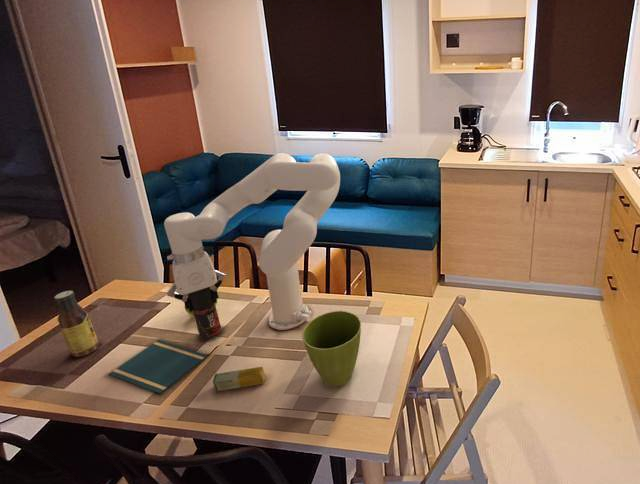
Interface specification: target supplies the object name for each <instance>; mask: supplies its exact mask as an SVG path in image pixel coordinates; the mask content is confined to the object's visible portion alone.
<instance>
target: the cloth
mask: <svg viewBox="0 0 640 484" xmlns="http://www.w3.org/2000/svg"><path fill="white" fill-rule="evenodd" d="M207 357H208V355H207V354H204V353H201V352H199V351H195V350H192V349H189V348H185V347H182V346H179V345H176V344H173V343H170V342H166V341H164V340H160V339H158V340H157V341H154V342H153V343H152V344H151V345H149V346H148V347H146V348H145V349H143V350H142V351H140V352H139V353H137V354H136V355H134V356H133V357H132V358H130V359H128V360H126V361H125V362H124V363H122V364H121V365H119V366H118V367H116V368H114V369H113V370H111V371H110V372H109V373H108V376H110V377H113V378H117V379H119V380H122V381H125V382H127V383H129V384H132V385H135V386H137V387H140V388H142V389H145V390H148V391H151V392H153V393H156V394H159V395H161V394H162V393H164V392H165V391H167V389H169V388H170V387H171V386H173V384H175V383H176V382H178V381H179V380H180V379H181V378H182V377H183V376H185V375H186V374H187V373H189V372H190V371H191V370H192V369H193V368H195V367H196V366H197V365H198V364H200V363H201V362H202V361H204V360H205V359H206V358H207Z"/></svg>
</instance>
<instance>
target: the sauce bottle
mask: <svg viewBox="0 0 640 484" xmlns="http://www.w3.org/2000/svg"><path fill="white" fill-rule="evenodd" d="M75 296H76V294H75V292H74V291H73V290H65V291H62V292H59V293H57V294H56V295H55V296H54V297H53V299H54V302H55V303H56V304H57V306H58V310H59V314H58V316H57V322H58V324H59V328H60V330H61V333H62V335H63V338H64V340H65V343H66V345H67V347H68V350H69V352H70V353H71V356H72V357H74V358H81V357H84V356H88V355H89V354H91V353H93V352H95V351H96V350H97V349H98V347H99V340H98V337H97V334H96V332H95V330H94V326H93V324H92V322H91V318H90V316H89V313H88V311H86V309H84V308H83V306H81V305H80V304H79V303H78V301H77V300H76V299H77V298H76V297H75Z"/></svg>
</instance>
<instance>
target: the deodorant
mask: <svg viewBox="0 0 640 484" xmlns="http://www.w3.org/2000/svg"><path fill="white" fill-rule="evenodd" d="M188 297H189V300H190V303H191V307H192V310H193V314H194V316H193V318H194V320H195V323H196V328H197V331H198V335H199V337H200V338H202V339H206V338H211V337H213V336H216V335H217V334H218V333H219V332H221V330H222V325H221V322H220V318H219V314H218V311H217V307H216V306H217V305H216V306H215V303H214V299H213V295H212V292H211V288H210V287H207V288H204V289H201V290H198V291H195V292H192V293H189V294H188Z"/></svg>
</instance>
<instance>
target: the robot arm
mask: <svg viewBox="0 0 640 484" xmlns="http://www.w3.org/2000/svg"><path fill="white" fill-rule="evenodd" d="M340 186H341V173H340V168H339V165H338V163H337V161H336V159H335V158H334V157H332V156H331V155H330V154H328V153H323V152H322V153H318V154H316V155H314V156H313V157H312V158H311V159H310V161H309V162H305V161H304V162H301V161H297V160H296V159H295V158H294V156H292V155H291V154H288V153H285V152H279V153H276V154H274V155H272V156H271V157H270V158H269V159H267V160H265V161H264V162H263V163H261V165H259V166H258V167H257V168H255V169H254V170H253V171H252V172H250V173H249V174H248V175H246V176H245V177H244V178H242V179H241V180H239V182H237V183H235V184H234V185H232V186H231V187H229V188H227V189H226V190H225V191H223V192H222V193H221V194H220V195H218V196H217V197H216V198H215V199H213V200H212V201H210V202H209V203H208V204H207V205H206V206H205V207H204V208H203V209H202V211H201V212H200V214H198V215H196V216H195V215H194V214H193V213H191V212H179V213H175V214H172V215H169V216H168V217H166V218H165V220H164V222H163V226H164V229H165V233H166V236H167V239H168V243H169V246H170V250H171V254H169V255H167V256H166V258H167V261H172V265H171V267H172V269H171V270H172V275H173V280H174V282H173V284H172V285H171V286H170V287H169V289H168V290H167V292H166V296H167V297H170V298H174V299H176V300H178V301H179V300H180V301H182V303H184V308H185V307H186V309H189V311H190V312H192V307H191V303H190V300H189V297H188V294H189V293H192V292H195V291H198V290H201V289H204V288H207V287H210V288H211V292H212V295H213V299H214V303H217V304H218V299H220V298H219V294H218V290H219V288H220V286H221V285H222V283H223V282H224V281H225V279H226V278H227V275H226V273H224V272H221V271H219V270H217V269H215V267H214V264H213V262H212V259H211V257H210V254H208V252H207V251H205V249H204V246H203V241H202V240H214V239H217V238H219V237H220V236H222V234H223V233H224V231H225V228H226V226H227V224H228V222H229V220H230V219H232V218H233V217H234V216H236V214H238V213H239V212H241V210H243V209H244V208H246V207H248V206H250V205H253V204H255V205H257V204H261V203H263V202H264V201H265V200H267V199H268V198H269V197H270V196H272V194H274V193H276V191H278V190H280V191H296V192H297V191H300V192H305V193H304V195H303V196H302V197H301V198H300V199H299V200H298V202H297V203H296V204H295V205H294V206H293V207H292V208H291V209H290V210H289V211H288V212H287V214H286V215H285V217H284V220H283V227H282V229H274V230H272V231H270V232H268V233H267V234H266V235H265V236H264V238H263V240H262V243H261V246H260V250H259V256H258V266H259V269H260V270H261V272H262V273H264V274H265V277H266V283H267V289H268V295H269V300H270V305H271V314H270V315H269V317H268V324H269V326H270V327H271V328H272V329H274V330H279V331H280V330H281V331H284V330H290V329H294V328H296V327H298V326H300V325H302V324H303V323H304V322H310V321H311V320H312V319H311V318H312V316H311V315H312V314H313V310H309V307H308V306H307V305H306V303H304V302H303V296H302V295H303V294H302V289H301V281H300V276H299V275H300V273H299V266H298V261H299V260H300V259H301V258H302V256H304V254H305V253H306V252H307V251H308V250H309V248H310V247H311V246H312V244H313V243H314V241H315V239H316V237H317V233H318V223H319V222H320V220H321V219H322V217H323V216H324V215H325V213H327V212H328V210H329V209H330V207H331V206H332V205H333V203H334V202H335V200H336V198H337V196H338V193H339V190H340ZM176 291H177V292H176ZM216 299H217V300H216Z"/></svg>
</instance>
